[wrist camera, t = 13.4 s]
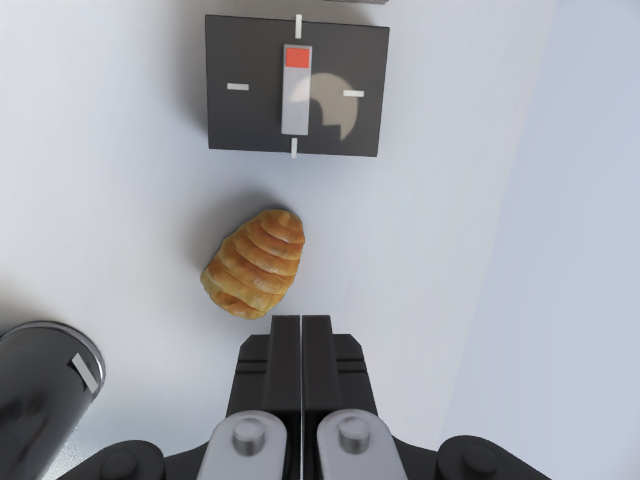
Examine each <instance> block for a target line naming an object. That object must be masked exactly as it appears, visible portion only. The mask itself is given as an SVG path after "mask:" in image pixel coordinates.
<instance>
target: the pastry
mask: <svg viewBox="0 0 640 480" xmlns="http://www.w3.org/2000/svg"><path fill="white" fill-rule="evenodd" d="M304 243H305V237H304V233H303V226H302V221H301V220H300V218H299V217H297V216H296V215H295V214H293V213H292V212H289V211H285V210H282V209H274V210H263V211H261V212H260V213H259V214H258V215H257V216H255V217H254V218H253V219H252V220H250V221H248V222H245V223H244V224H243V225H242V226H240V227H239V228H238V229H237V231H235V232H234V233H233V234H232V235H230V236H228V237H226V238H225V239H224V240H223V241H222V243H221V247H220V250H219V251H218V252H217V253H216V255H215V256H214V258H213V260H212V261H211V262H210V263H209V265H208V266H207V268H206V269H205V270H204V271H203V272H202V273H201V276H200V280H201V283H202V284H203V286H204V289H205V291H206V292H207V293H208V294H209V296H210V298H211V299H212V301H213V302H214V303H216V304H217V305H218V306H219V307H221V308H222V309H224V310H225V311H227V312H229V313H230V314H232V315H234V316H239V317H242V318H244V319H257V318H261V317H263V316H264V315H265V314H266V313H267V311H269V310H270V309H271V308H273V307H274V306H276V304H277V303H279V302H280V301H281V300H282V298H283V297H284V295H285V293H286V291H287V289H288V288H289V287H290V285H291V284H292V283H293V281H294V277H295V275H296V272H297V268H298V264H299V262H300V256H301V253H302V248H303V245H304Z"/></svg>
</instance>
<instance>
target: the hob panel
mask: <svg viewBox="0 0 640 480" xmlns="http://www.w3.org/2000/svg"><path fill="white" fill-rule="evenodd" d="M389 32H390V28H389V27H379V26H365V25H351V24H336V23H322V22H307V21H302V15H301V14H296V21H293V20H278V19H264V18H249V17H235V16H220V15H205V40H206V74H207V109H208V144H209V149H223V150H244V151H264V152H285V153H291V158H296V153H305V154H326V155H347V156H367V157H377V153H378V143H379V133H380V122H381V112H382V102H383V92H384V82H385V72H386V62H387V52H388V42H389ZM285 44H291V45H305V46H312V60H311V79H310V99H309V118H308V134H307V135H294V134H282V133H281V127H282V96H283V65H284V45H285Z"/></svg>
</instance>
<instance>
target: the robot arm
mask: <svg viewBox="0 0 640 480" xmlns="http://www.w3.org/2000/svg"><path fill="white" fill-rule="evenodd" d="M104 380H105V367H104V363H103V360H102V357H101V355H100V353H99V352H98V350H97V349H96V347H95V346H94V345H93V344H92V343H91V342H90V341H89V340H88V339H87V338H86V337H85V336H83V335H82V334H80V333H79V332H77V331H75V330H73V329H71V328H69V327H66V326H64V325H60V324H56V323H51V322H31V323H26V324H23V325H20V326H18V327H16V328H14V329H12V330H10V331H9V332H8V333H7V334H5V335H4V336H2V337H0V480H42V479H43V477H44V476H45V474H46V473H47V471H48V470H49V468H50V466H51V465H52V463H53V462H54V460H55V459H56V457H57V455H58V454H59V452H60V451H61V449H62V448H63V446H64V445H65V443H66V441H67V440H68V438H69V437H70V435H71V434H72V432H73V430H74V429H75V427H76V426H77V424H78V423H79V421H80V420H81V418H82V416H83V415H84V413H85V412H86V410H87V408H88V407H89V405H90V404H91V403H92V402H93V400H94V399H95V398H96V397H97V395H98V393H99V392H100V390H101V388H102V386H103V384H104ZM301 396H302V456H303V480H551V479H550V478H548V477H547V476H545V475H544V474H542V473H540V472H539V471H537V470H536V469H534V468H533V467H531V466H529V465H528V464H526V463H525V462H523V461H522V460H520V459H519V458H517V457H515V456H514V455H512V454H511V453H509V452H508V451H506V450H504V449H503V448H501V447H500V446H498V445H496V444H495V443H493V442H491V441H489V440H486V439H483V438H480V437H476V436H469V435H463V436H455V437H452V438H450V439H448V440H446V441H445V442H444V443H443V444H442V445H441V446H440V448H439V450H438V452H436V451H432V450H428V449H424V448H420V447H416V446H413V445H409V444H407V443H405V442H402V441H401V440H399V439H397V438H395V437H394V436H393V435H391V433H390V430H389V428H388V427H387V425H386V424H385V423H384V422H383V421H382V420H381V419H380V418H379V417H378V413H377V409H376V405H375V401H374V397H373V392H372V388H371V384H370V380H369V376H368V373H367V368H366V364H365V362H364V356H363V352H362V348H361V345H360V344H359V343H358V342H357V341H356V340H355V339H354V338H353V337H352V336H351V334H332V327H331V320H330V315H302V361H301V358H300V315H272V322H271V332H270V335H251V336H250V337H249V338H248V339H247V340H246V341H245V342H244V343H243V344H242V345H241V347H240V351H239V356H238V363H237V366H236V370H235V375H234V380H233V385H232V389H231V394H230V399H229V404H228V408H227V413H226V418H225V419H224V420H223V421H221V422H220V423H219V424H218V425H217V426H216V428H215V429H214V431H213V433H212V435H211V438H210V440H209V441H208V442H206V443H205V444H203V445H201V446H199V447H197V448H195V449H192V450H189V451H186V452H183V453H179V454H175V455H172V456H168V457H165V458H164V457H163V454H162V452H161V450H160V449H159V448H158V447H157V446H156V445H154V444H152V443H150V442H147V441H142V440H129V441H123V442H119V443H116V444H113V445H110V446H108V447H106V448H104V449H102V450H100V451H99V452H97V453H96V454H94V455H92V456H91V457H89V458H88V459H86V460H85V461H83V462H82V463H80V464H79V465H77V466H76V467H74V468H73V469H71V470H70V471H68V472H67V473H65V474H64V475H62V476H61V477H59V478H58V479H56V480H300V465H301Z"/></svg>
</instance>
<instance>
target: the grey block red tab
mask: <svg viewBox="0 0 640 480" xmlns="http://www.w3.org/2000/svg"><path fill="white" fill-rule="evenodd" d="M311 60H312V46H305V45H291V44H285V45H284V65H283V96H282V127H281V133H282V134H294V135H307V134H308V118H309V99H310V79H311Z"/></svg>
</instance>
